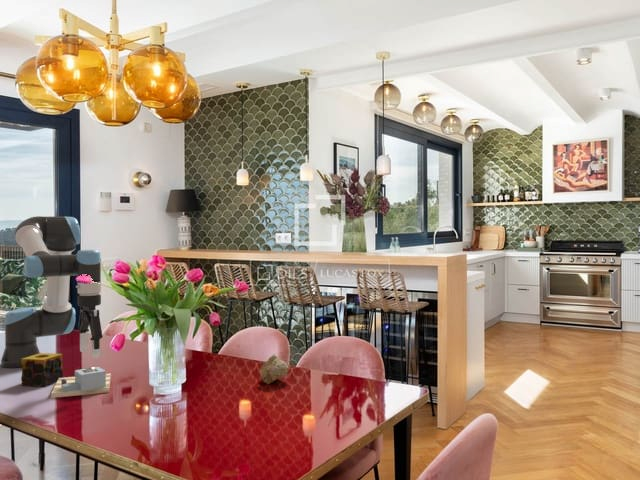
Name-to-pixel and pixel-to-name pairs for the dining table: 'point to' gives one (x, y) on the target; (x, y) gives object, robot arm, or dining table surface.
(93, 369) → the post
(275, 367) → the rock
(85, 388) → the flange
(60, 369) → the yellow black cube
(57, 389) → the board
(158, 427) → the dining table surface
